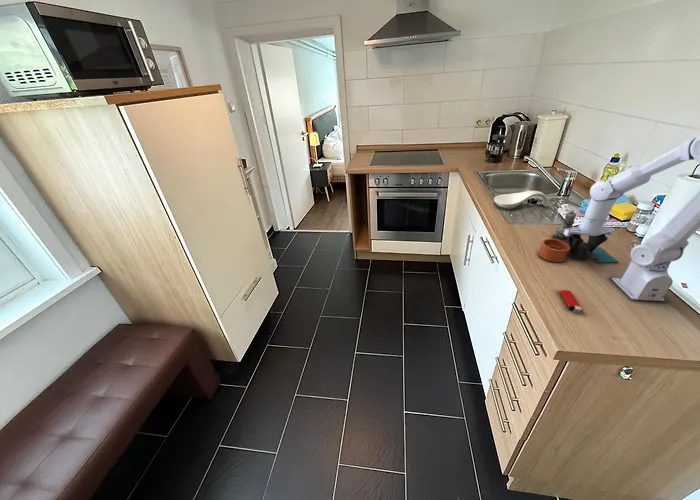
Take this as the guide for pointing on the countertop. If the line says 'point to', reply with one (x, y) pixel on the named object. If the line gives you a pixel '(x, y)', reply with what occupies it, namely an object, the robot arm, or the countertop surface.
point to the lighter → (571, 301)
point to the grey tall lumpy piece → (565, 227)
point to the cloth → (603, 256)
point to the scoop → (584, 252)
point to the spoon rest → (518, 199)
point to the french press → (496, 158)
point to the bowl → (554, 250)
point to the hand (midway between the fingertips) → (579, 252)
